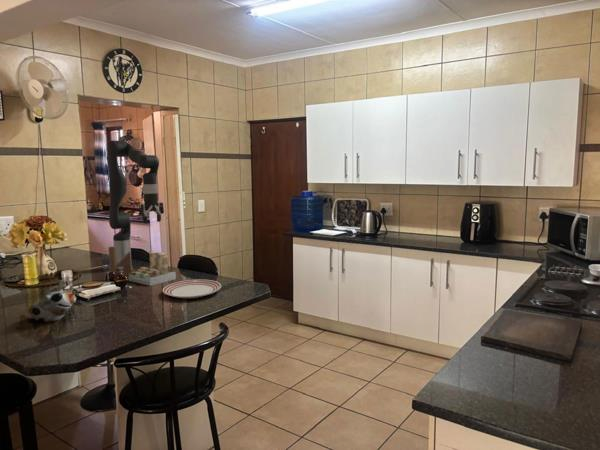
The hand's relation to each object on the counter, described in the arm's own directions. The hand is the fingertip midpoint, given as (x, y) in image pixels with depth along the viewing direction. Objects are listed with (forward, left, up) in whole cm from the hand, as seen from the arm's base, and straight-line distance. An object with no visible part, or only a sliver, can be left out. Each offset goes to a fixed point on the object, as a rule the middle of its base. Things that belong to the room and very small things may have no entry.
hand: (152, 222), depth 240 cm
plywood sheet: (+4, 0, -30) cm, 31 cm away
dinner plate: (+41, -9, -31) cm, 52 cm away
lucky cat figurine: (+22, -65, -31) cm, 75 cm away
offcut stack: (+4, -8, -30) cm, 32 cm away
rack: (+4, -5, -30) cm, 31 cm away
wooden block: (-12, -13, -31) cm, 35 cm away
